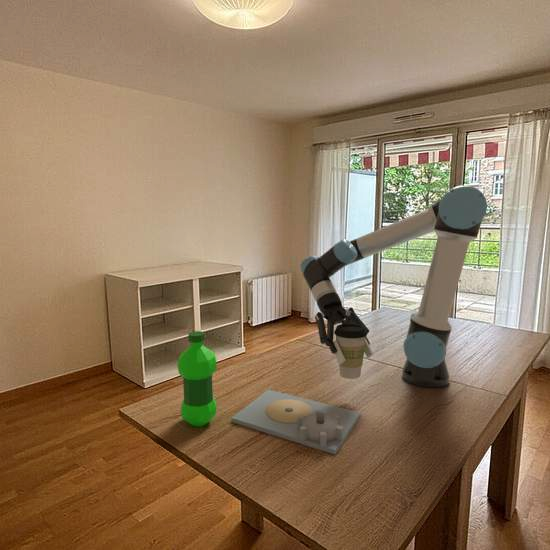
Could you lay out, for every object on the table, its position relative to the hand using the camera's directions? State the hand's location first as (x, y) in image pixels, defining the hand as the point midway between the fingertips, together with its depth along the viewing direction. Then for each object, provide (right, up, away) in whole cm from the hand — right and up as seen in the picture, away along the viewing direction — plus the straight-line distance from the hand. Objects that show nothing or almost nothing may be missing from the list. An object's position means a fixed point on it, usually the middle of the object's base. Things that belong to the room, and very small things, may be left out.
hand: (356, 359), depth 115 cm
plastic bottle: (-45, -15, -8) cm, 48 cm away
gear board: (-18, -15, -7) cm, 25 cm away
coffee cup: (-1, -6, +4) cm, 7 cm away
